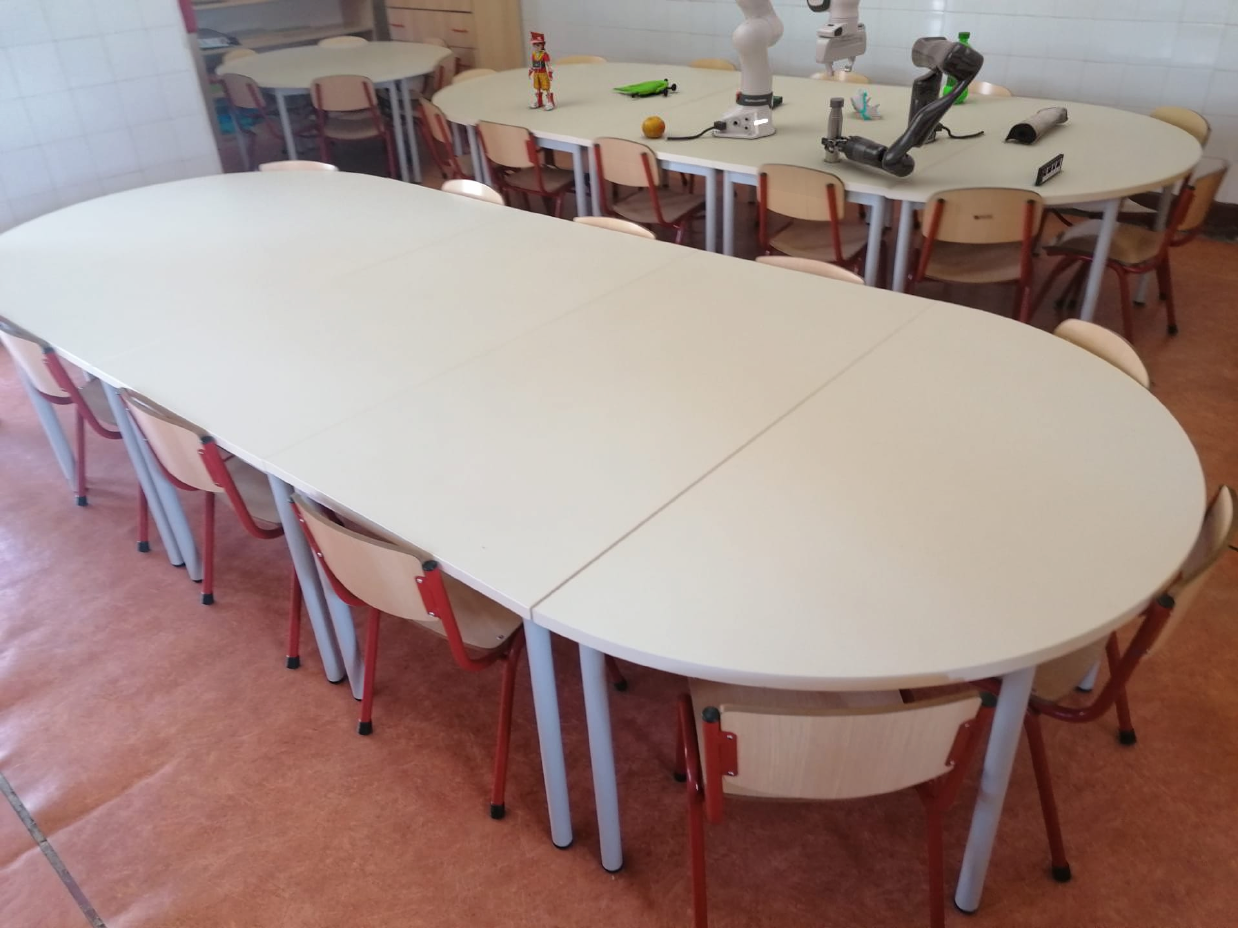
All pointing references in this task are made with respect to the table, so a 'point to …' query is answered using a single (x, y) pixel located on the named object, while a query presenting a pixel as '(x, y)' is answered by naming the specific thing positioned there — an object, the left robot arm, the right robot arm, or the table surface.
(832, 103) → the cap
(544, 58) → the toy
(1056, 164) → the midi keyboard
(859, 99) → the anatomical model
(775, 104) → the disk drive
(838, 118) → the bottle
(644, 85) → the toy
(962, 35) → the plastic bottle
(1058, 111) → the rolled mat
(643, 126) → the fruit
